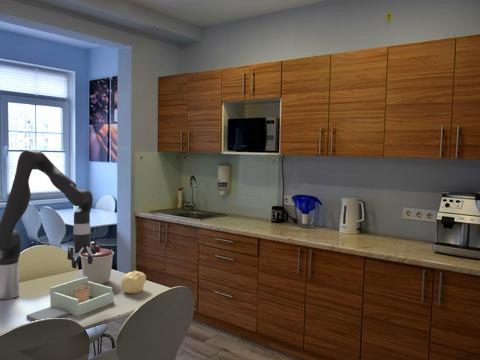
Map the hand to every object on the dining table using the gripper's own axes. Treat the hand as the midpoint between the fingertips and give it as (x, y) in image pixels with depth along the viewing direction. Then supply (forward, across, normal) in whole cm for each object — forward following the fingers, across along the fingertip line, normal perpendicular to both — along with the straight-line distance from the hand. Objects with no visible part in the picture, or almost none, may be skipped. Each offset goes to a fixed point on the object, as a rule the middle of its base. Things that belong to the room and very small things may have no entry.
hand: (82, 265), depth 191 cm
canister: (+19, -25, -20) cm, 37 cm away
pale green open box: (+19, 0, 0) cm, 19 cm away
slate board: (+18, +18, 0) cm, 26 cm away
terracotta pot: (+19, 0, 0) cm, 19 cm away
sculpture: (+19, -26, +7) cm, 33 cm away
